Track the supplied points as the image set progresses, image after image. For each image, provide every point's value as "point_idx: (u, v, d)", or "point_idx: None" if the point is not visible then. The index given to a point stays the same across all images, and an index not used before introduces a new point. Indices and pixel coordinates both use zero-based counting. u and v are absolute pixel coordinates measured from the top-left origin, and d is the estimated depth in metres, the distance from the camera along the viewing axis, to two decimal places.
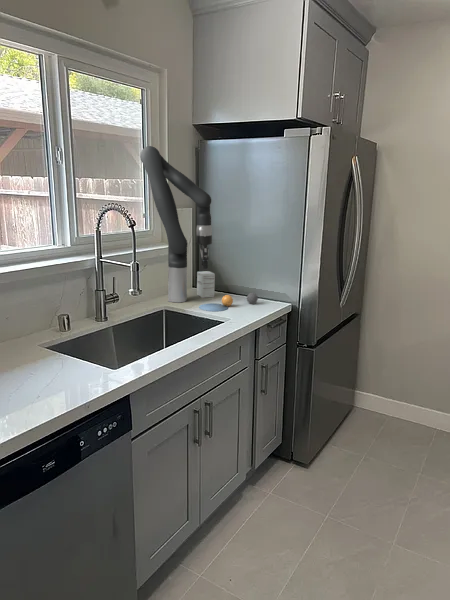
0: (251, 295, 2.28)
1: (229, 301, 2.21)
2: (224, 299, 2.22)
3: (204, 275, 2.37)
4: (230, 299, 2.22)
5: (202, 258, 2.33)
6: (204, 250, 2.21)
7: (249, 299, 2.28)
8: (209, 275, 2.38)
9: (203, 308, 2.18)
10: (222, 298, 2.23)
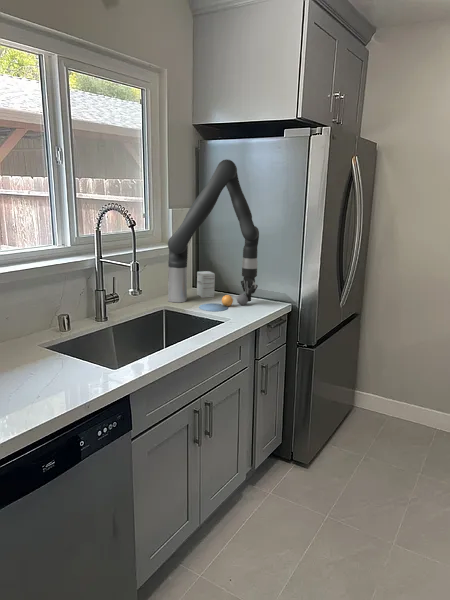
0: (241, 304, 2.26)
1: (229, 301, 2.21)
2: (224, 299, 2.22)
3: (204, 275, 2.37)
4: (230, 299, 2.22)
5: None
6: None
7: (244, 304, 2.27)
8: (209, 275, 2.38)
9: (203, 308, 2.18)
10: (222, 298, 2.23)
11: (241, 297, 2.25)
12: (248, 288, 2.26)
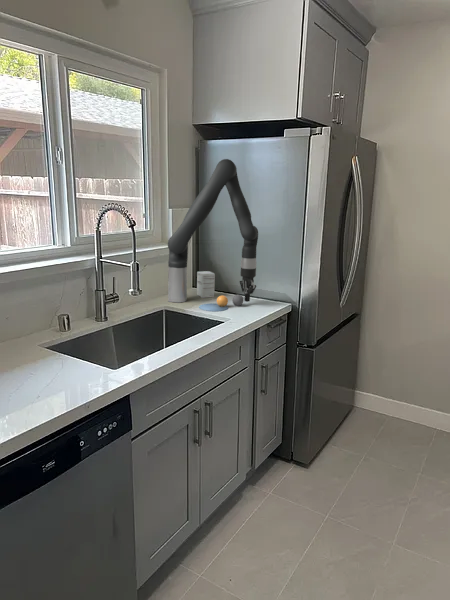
0: None
1: (224, 302, 2.20)
2: (219, 304, 2.21)
3: (204, 275, 2.37)
4: (223, 300, 2.20)
5: None
6: None
7: None
8: (209, 275, 2.38)
9: (203, 308, 2.18)
10: None
11: (235, 303, 2.23)
12: (247, 288, 2.26)
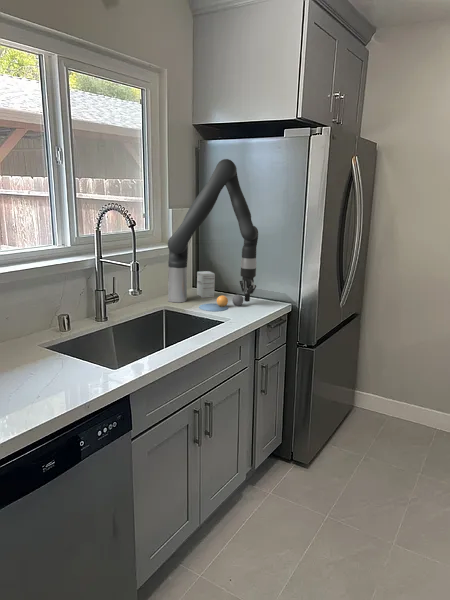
0: None
1: (224, 302, 2.20)
2: (219, 304, 2.21)
3: (204, 275, 2.37)
4: (223, 300, 2.20)
5: None
6: None
7: None
8: (209, 275, 2.38)
9: (203, 308, 2.18)
10: None
11: (235, 303, 2.23)
12: (247, 288, 2.26)
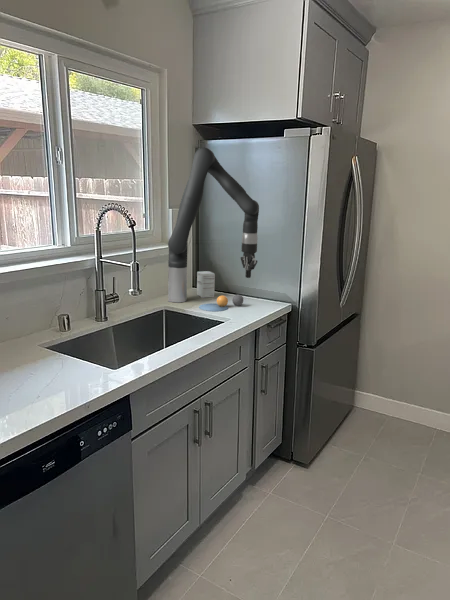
0: None
1: (224, 302, 2.20)
2: (219, 304, 2.21)
3: (204, 275, 2.37)
4: (223, 300, 2.20)
5: None
6: None
7: None
8: (209, 275, 2.38)
9: (203, 308, 2.18)
10: None
11: (235, 303, 2.23)
12: (248, 264, 2.23)
